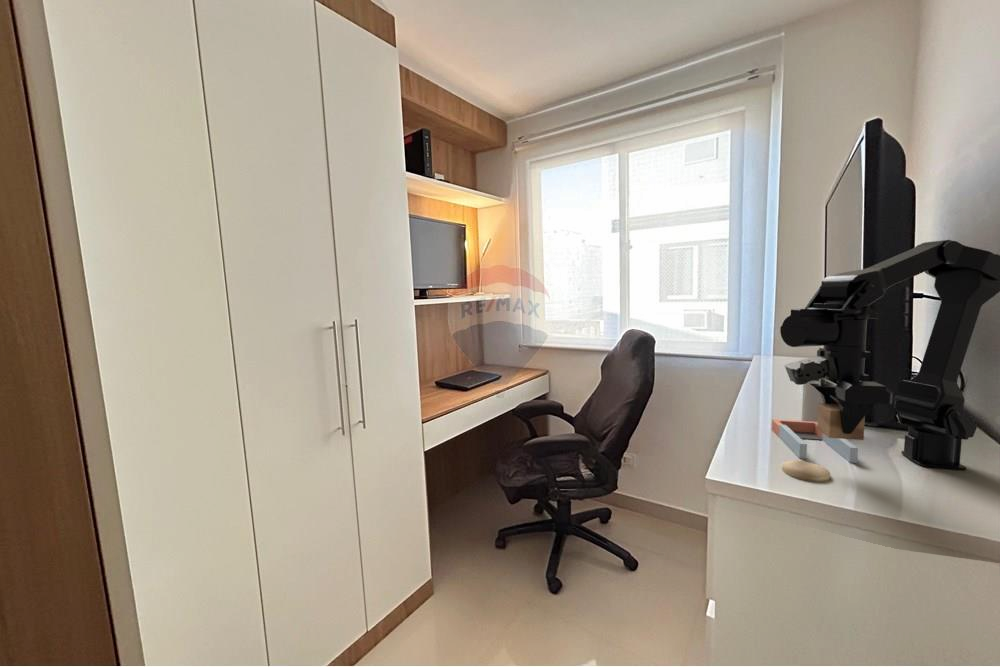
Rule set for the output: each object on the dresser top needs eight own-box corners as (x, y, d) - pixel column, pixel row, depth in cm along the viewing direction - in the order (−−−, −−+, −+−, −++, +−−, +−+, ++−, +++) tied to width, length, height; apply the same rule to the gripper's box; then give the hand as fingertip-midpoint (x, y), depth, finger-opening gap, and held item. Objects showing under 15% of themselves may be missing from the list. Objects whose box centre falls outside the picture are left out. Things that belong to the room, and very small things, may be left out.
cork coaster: (819, 466, 76) (820, 462, 76) (837, 483, 69) (837, 479, 69) (776, 462, 78) (777, 458, 78) (789, 478, 72) (789, 474, 72)
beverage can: (830, 427, 96) (832, 378, 95) (807, 426, 97) (809, 378, 96) (818, 421, 101) (821, 374, 100) (797, 420, 102) (799, 374, 101)
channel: (828, 440, 88) (829, 427, 88) (857, 463, 77) (858, 448, 77) (779, 437, 91) (779, 424, 91) (799, 458, 80) (799, 443, 80)
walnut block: (849, 430, 75) (850, 404, 75) (863, 440, 70) (865, 412, 70) (817, 428, 77) (818, 403, 76) (829, 437, 72) (830, 410, 72)
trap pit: (818, 432, 93) (818, 421, 93) (828, 440, 88) (829, 429, 88) (771, 429, 96) (771, 419, 96) (779, 437, 91) (779, 426, 91)
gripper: (775, 338, 83) (772, 411, 85) (811, 351, 66) (807, 443, 67) (840, 338, 80) (836, 414, 81) (897, 352, 62) (891, 449, 64)
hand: (839, 428), depth 74 cm, fingers closed on walnut block, 5 cm apart
